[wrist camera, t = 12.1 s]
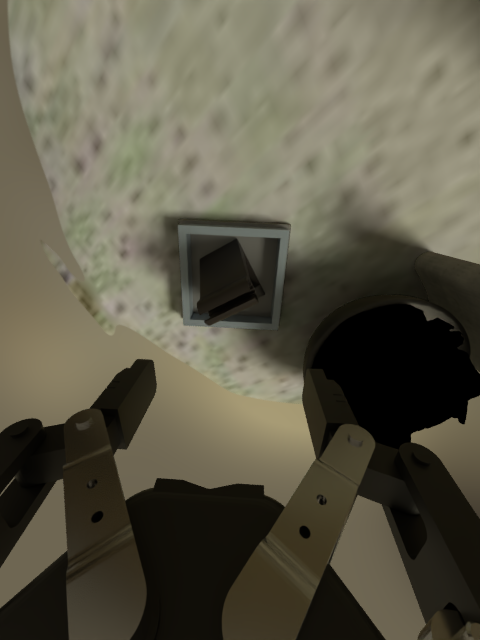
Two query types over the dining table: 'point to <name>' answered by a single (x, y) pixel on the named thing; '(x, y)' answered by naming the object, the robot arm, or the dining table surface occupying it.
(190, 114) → the dining table surface
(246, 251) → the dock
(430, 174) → the dining table surface
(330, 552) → the robot arm
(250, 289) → the phone stand
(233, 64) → the dining table surface
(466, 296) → the hip flask
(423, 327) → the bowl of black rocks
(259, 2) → the dining table surface
